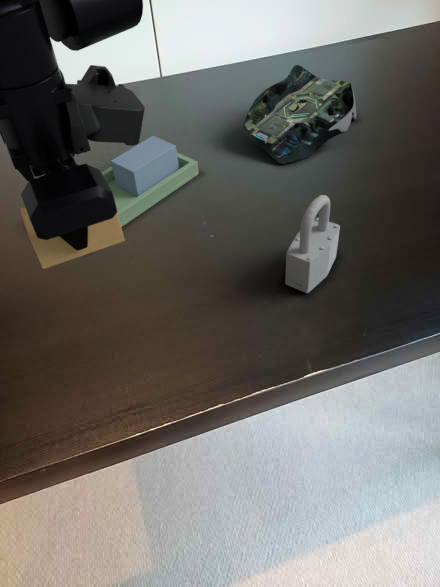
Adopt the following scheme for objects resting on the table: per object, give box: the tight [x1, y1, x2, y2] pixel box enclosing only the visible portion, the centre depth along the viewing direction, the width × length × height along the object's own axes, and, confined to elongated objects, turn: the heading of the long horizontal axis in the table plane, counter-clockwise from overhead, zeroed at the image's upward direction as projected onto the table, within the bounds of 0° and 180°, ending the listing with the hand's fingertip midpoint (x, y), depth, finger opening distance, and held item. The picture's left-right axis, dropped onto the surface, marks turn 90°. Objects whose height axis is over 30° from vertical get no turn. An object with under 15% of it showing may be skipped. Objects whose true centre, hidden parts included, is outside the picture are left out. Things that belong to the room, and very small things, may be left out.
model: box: [242, 64, 357, 165], centre depth 79 cm, size 20×9×14 cm
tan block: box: [19, 206, 126, 270], centre depth 50 cm, size 8×5×4 cm, turn 115°
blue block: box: [110, 135, 179, 197], centre depth 74 cm, size 8×5×4 cm, turn 139°
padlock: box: [284, 194, 341, 294], centre depth 57 cm, size 7×4×10 cm, turn 145°
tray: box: [101, 152, 199, 228], centre depth 72 cm, size 21×9×2 cm, turn 139°
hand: (75, 233), depth 51 cm, fingers closed on tan block, 4 cm apart
